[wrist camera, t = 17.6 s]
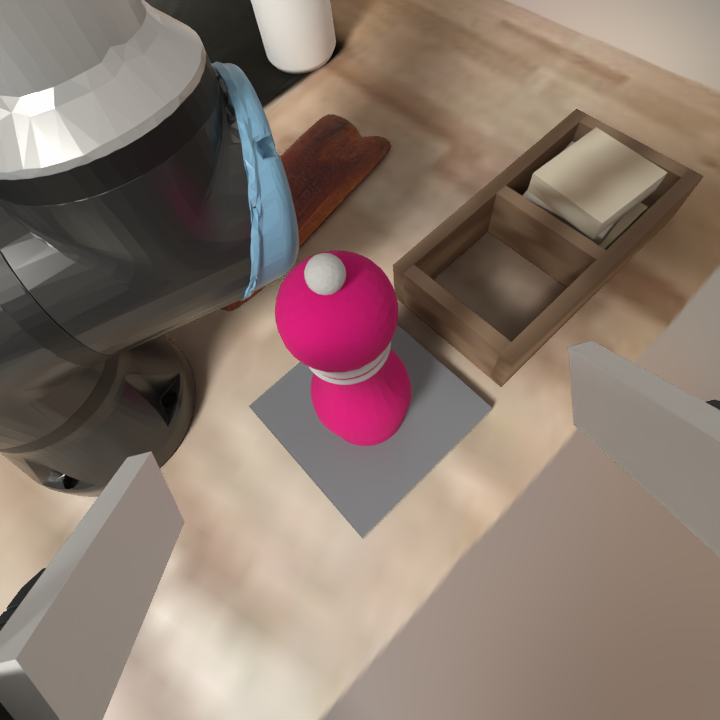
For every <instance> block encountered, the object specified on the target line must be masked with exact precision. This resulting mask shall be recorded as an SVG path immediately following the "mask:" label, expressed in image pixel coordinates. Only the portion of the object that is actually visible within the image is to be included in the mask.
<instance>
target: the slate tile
mask: <svg viewBox="0 0 720 720" xmlns="http://www.w3.org/2000/svg"><path fill="white" fill-rule="evenodd" d="M390 349H392V350H393V351H394V352H395V353H396V355H397V356H398V357H399V358H400V359H401V360H402V362H403V363H404V365H405V367H406V369H407V372H408V375H409V379H410V383H411V400H410V404H409V407H408V410H407V412H406V414H405V416H404V419H403V422H402V424H401V426H400V427H399V429H398V430H397V432H396V433H395V434H394V435H393V436H392V437H390V438H389V439H388V440H386V441H384V442H382V443H380V444H377V445H372V446H359V445H354V444H351V443H349V442H347V441H345V440H344V439H342V438H341V437H340V436H338V435H336V434H334V433H333V432H331V431H330V430H329V429H328V428H327V427H325V426H324V424H323V423H322V422H321V421H320V419H319V418H318V416H317V414H316V412H315V409H314V406H313V403H312V399H311V393H310V392H311V380H312V376H313V372H312V371H311V370H310V368H309V367H308V366H307V365H305V364H303V363H302V362H300V363H299V364H297V365H296V366H295V367H294V368H293V369H292V370H290V371H289V372H288V373H287V374H286V375H285V376H283V377H282V378H281V379H280V380H279V381H278V382H277V383H275V384H274V385H273V386H272V387H271V388H270V389H268V390H267V391H266V392H265V393H264V394H263V395H261V396H260V397H259V398H258V399H257V400H256V401H254V402H253V403H252V404H251V405H250V406H249V407H250V408H251V409H252V410H253V411H254V413H255V414H256V415H257V416H258V417H259V418H260V420H261V421H262V422H263V423H264V424H265V425H266V427H267V428H268V429H269V430H270V431H271V432H272V434H273V435H274V436H275V437H276V438H277V439H278V441H279V442H280V443H281V444H282V445H283V446H284V447H285V449H286V450H287V451H288V452H289V453H290V454H291V456H292V457H293V458H294V459H295V460H296V461H297V463H298V464H299V465H300V466H301V467H302V468H303V470H304V471H305V472H306V473H307V474H308V475H309V477H310V478H311V479H312V480H313V481H314V482H315V484H316V485H317V486H318V487H319V488H320V489H321V491H322V492H323V493H324V494H325V495H326V496H327V498H328V499H329V500H330V501H331V502H332V503H333V505H334V506H335V507H336V508H337V509H338V510H339V512H340V513H341V514H342V515H343V516H344V517H345V519H346V520H347V521H348V522H349V523H350V524H351V526H352V527H353V528H354V529H355V530H356V531H357V533H358V534H359V535H360V536H361V537H362V538H363V539H364V538H365V537H366V536H367V535H368V534H369V533H370V532H371V531H372V530H373V529H374V528H375V527H376V526H377V525H378V524H379V523H380V522H381V521H382V520H383V519H384V518H385V517H386V516H387V515H388V514H389V513H390V512H391V511H392V510H393V509H394V508H395V507H396V506H397V505H398V504H399V503H400V502H401V501H402V500H403V499H404V498H405V497H406V496H407V495H408V494H409V493H410V492H411V491H412V490H413V489H414V488H415V487H416V486H417V485H418V484H419V483H420V482H421V481H422V480H423V479H424V478H425V477H426V476H427V475H428V474H429V473H430V472H431V471H432V470H433V469H434V468H435V467H436V466H437V465H438V464H439V463H440V462H441V461H442V460H443V459H444V458H445V457H446V456H447V455H448V454H449V453H450V452H451V451H452V450H453V449H454V448H455V447H456V446H457V445H458V444H459V443H460V442H461V441H462V440H463V439H464V438H465V437H466V436H467V435H468V434H469V433H470V432H471V431H472V430H473V429H474V428H475V427H476V426H477V425H478V424H479V423H480V422H481V421H482V420H483V419H484V418H485V417H486V416H487V415H488V414H489V413H490V412H491V410H492V407H491V406H490V405H489V404H487V403H486V402H485V401H484V400H483V399H482V398H481V397H479V396H478V395H477V394H476V393H475V392H474V391H473V390H471V389H470V388H469V387H468V386H467V385H466V384H465V383H464V382H462V381H461V380H460V379H459V378H458V377H457V376H456V375H454V374H453V373H452V372H451V371H450V370H449V369H448V368H446V367H445V366H444V365H443V364H442V363H441V362H440V361H438V360H437V359H436V358H435V357H434V356H433V355H432V354H431V353H429V352H428V351H427V350H426V349H425V348H424V347H423V346H421V345H420V344H419V343H418V342H417V341H416V340H415V339H413V338H412V337H411V336H410V335H409V334H408V333H407V332H406V331H404V330H403V329H402V328H401V327H400V326H399V325H398V324H397V327H396V331H395V333H394V335H393V338H392V340H391V348H390Z"/></svg>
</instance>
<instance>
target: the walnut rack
mask: <svg viewBox="0 0 720 720" xmlns="http://www.w3.org/2000/svg"><path fill="white" fill-rule="evenodd" d="M596 127H597V128H598V129H600V130H602V131H603V132H605V133H606V134H608V135H609V136H611V137H613V138H614V139H616V140H617V141H619V142H620V143H622V144H624V145H625V146H627V147H628V148H630V149H631V150H633V151H635V152H636V153H638V154H639V155H641V156H642V157H644V158H646V159H647V160H649V161H650V162H652V163H653V164H655V165H657V166H658V167H660V168H661V169H663V170H665V171H666V172H668V173H667V174H666V176H665V177H664V179H663V180H662V182H661V183H660V185H659V186H658V188H657V189H656V191H655V192H653V193H652V194H651V195H649V196H648V197H647V198H646V199H644V200H643V201H642V202H641V203H642V204H644V205H646V206H647V207H648V208H647V209H646V211H645V212H644V214H643V215H642V216H641V217H640V218H639V219H638V220H637V221H636V222H635V223H634V224H633V225H632V226H631V227H630V228H629V229H628V230H627V231H626V232H624V233H623V234H622V235H621V236H620V237H619V238H618V239H617V240H616V241H615V242H614V243H613V244H612V245H611V246H610V247H609V248H608V249H607V250H605V249H604V248H602V247H601V246H599V245H597V244H596V243H594V242H593V241H591V240H590V239H588V238H587V237H585V236H584V235H582V234H580V233H579V232H577V231H576V230H574V229H573V228H571V227H570V226H568V225H566V224H565V223H563V222H562V221H560V220H559V219H557V218H556V217H554V216H553V215H551V214H549V213H548V212H546V211H545V210H543V209H542V208H540V207H539V206H537V205H535V204H534V203H532V202H531V201H529V200H528V199H526V198H525V197H523V195H524V193H525V192H526V191H527V190H528V187H529V184H530V181H531V178H532V175H533V173H534V172H535V171H537V170H538V169H539V168H541V167H542V166H543V165H545V164H546V163H548V162H549V161H550V160H552V159H553V158H554V157H556V156H557V155H559V154H560V153H561V152H563V150H564V149H565V148H566V147H567V146H568V145H569V144H570V143H571V142H577V141H578V140H579V139H581V138H582V137H583V136H585V135H586V134H588V133H589V132H590V131H592V130H593V129H595V128H596ZM702 178H703V176H702V175H700V174H698V173H696V172H695V171H693V170H691V169H689V168H687V167H685V166H683V165H681V164H680V163H678V162H676V161H674V160H672V159H670V158H668V157H666V156H664V155H663V154H661V153H659V152H657V151H655V150H653V149H651V148H649V147H648V146H646V145H644V144H642V143H640V142H638V141H636V140H634V139H632V138H631V137H629V136H627V135H625V134H623V133H621V132H619V131H617V130H616V129H614V128H612V127H610V126H608V125H606V124H604V123H602V122H600V121H599V120H597V119H595V118H593V117H591V116H589V115H587V114H585V113H584V112H582V111H580V110H578V109H576V110H575V111H573V112H572V113H571V114H570V115H569V116H568V117H566V118H565V119H564V120H563V121H562V122H561V123H559V124H558V125H557V126H556V127H555V128H554V129H552V130H551V131H550V132H549V133H548V134H546V135H545V136H544V137H543V138H542V139H541V140H539V141H538V142H537V143H536V144H535V145H534V146H532V147H531V148H530V149H529V150H528V151H526V152H525V153H524V154H523V155H522V156H521V157H519V158H518V159H517V160H516V161H515V162H514V163H512V164H511V165H510V166H509V167H508V168H507V169H505V170H504V171H503V172H502V173H501V174H499V175H498V176H497V177H496V178H495V179H494V180H492V181H491V182H490V183H489V184H488V185H487V186H485V187H484V188H483V189H482V190H481V191H479V192H478V193H477V194H476V195H475V196H474V197H472V198H471V199H470V200H469V201H468V202H467V203H465V204H464V205H463V206H462V207H461V208H460V209H458V210H457V211H456V212H455V213H454V214H452V215H451V216H450V217H449V218H448V219H447V220H445V221H444V222H443V223H442V224H441V225H440V226H438V227H437V228H436V229H435V230H434V231H433V232H431V233H430V234H429V235H428V236H427V237H425V238H424V239H423V240H422V241H421V242H420V243H418V244H417V245H416V246H415V247H414V248H413V249H411V250H410V251H409V252H408V253H407V254H405V255H404V256H403V257H402V258H401V259H400V260H398V261H397V262H396V263H395V264H394V265H393V271H394V286H395V294H396V298H397V299H398V300H399V301H401V302H402V303H403V304H404V305H405V306H406V307H408V308H409V309H410V310H411V311H412V312H413V313H415V314H416V315H417V316H418V317H419V318H421V319H422V320H423V321H424V322H425V323H426V324H428V325H429V326H430V327H431V328H432V329H433V330H435V331H436V332H437V333H438V334H439V335H441V336H442V337H443V338H444V339H445V340H446V341H448V342H449V343H450V344H451V345H452V346H453V347H455V348H456V349H457V350H458V351H459V352H460V353H462V354H463V355H464V356H465V357H466V358H468V359H469V360H470V361H471V362H472V363H473V364H475V365H476V366H477V367H478V368H479V369H480V370H482V371H483V372H484V373H485V374H486V375H488V376H489V377H490V378H491V379H492V380H493V381H495V382H496V383H497V384H498V385H499V386H500V387H502V386H503V385H504V384H505V383H506V382H507V381H508V380H509V379H510V378H511V377H512V376H513V375H514V374H515V373H516V372H517V371H518V370H519V369H520V368H521V367H522V366H523V365H524V364H525V363H526V362H527V361H528V360H529V359H530V358H531V357H532V356H533V355H534V354H535V353H536V352H537V351H538V350H539V349H540V348H541V347H542V346H543V345H544V344H545V343H546V342H547V341H548V340H549V339H550V338H551V337H552V336H553V335H554V334H555V333H556V332H557V331H558V330H559V329H560V328H561V327H562V326H563V325H564V324H565V323H566V322H567V321H568V320H569V319H570V318H571V317H572V316H573V315H574V314H575V313H576V312H577V311H578V310H579V309H580V308H581V307H582V306H583V305H584V304H585V303H586V302H587V301H588V300H589V299H590V298H591V297H592V296H593V295H594V294H595V293H596V292H597V291H598V290H599V289H600V288H601V287H603V286H604V285H605V284H606V283H607V282H608V281H609V280H610V279H611V278H612V277H613V276H614V275H615V274H616V273H617V272H618V271H619V270H620V269H621V268H622V267H623V266H624V265H625V264H626V263H627V262H628V261H629V260H630V259H631V258H632V257H633V256H634V255H635V254H636V253H637V252H638V251H639V250H640V249H641V248H642V247H643V246H644V245H645V244H646V243H647V242H648V241H649V240H650V239H651V238H652V237H653V236H654V235H655V234H656V233H657V232H658V231H659V230H660V229H661V228H662V227H663V226H664V225H665V224H666V223H667V222H668V221H669V220H670V219H671V218H672V217H673V216H674V214H675V213H676V212H677V210H678V209H679V208H680V206H681V205H682V204H683V203H684V201H685V200H686V199H687V197H688V196H689V195H690V193H691V192H692V191H693V189H694V188H695V187H696V186H697V184H698V183H699V182H700V180H701V179H702ZM486 232H489V233H491V234H492V235H493V236H495V237H496V238H498V239H499V240H500V241H502V242H503V243H505V244H506V245H508V246H509V247H510V248H512V249H513V250H515V251H516V252H517V253H519V254H520V255H522V256H523V257H525V258H526V259H527V260H529V261H530V262H532V263H533V264H535V265H536V266H537V267H539V268H540V269H542V270H543V271H544V272H546V273H547V274H549V275H550V276H552V277H553V278H554V279H556V280H557V281H559V282H560V283H562V284H563V285H564V286H566V287H567V289H566V290H565V291H564V292H563V293H561V294H560V295H559V296H558V297H557V298H556V299H555V300H554V301H553V302H552V303H551V304H550V305H549V306H548V307H547V308H546V309H545V310H544V311H543V312H542V313H541V314H540V315H539V316H538V317H537V318H536V319H535V320H534V321H533V322H532V323H530V324H529V325H528V326H527V327H526V328H525V329H524V330H523V331H522V332H521V333H520V334H519V335H518V336H517V337H516V338H515V339H514V340H513V341H512V342H511V341H509V340H508V339H507V338H506V337H504V336H503V335H502V334H501V333H499V332H498V331H497V330H496V329H494V328H493V327H492V326H491V325H489V324H488V323H487V322H486V321H484V320H483V319H482V318H481V317H479V316H478V315H477V314H475V313H474V312H473V311H472V310H470V309H469V308H468V307H467V306H465V305H464V304H463V303H462V302H460V301H459V300H458V299H457V298H455V297H454V296H453V295H452V294H450V293H449V292H448V291H447V290H445V289H444V288H443V287H442V286H440V285H439V284H438V283H437V282H435V281H434V280H433V279H434V278H435V277H437V276H438V275H439V274H440V273H441V272H442V271H443V270H445V269H446V268H447V267H448V266H449V265H450V264H451V263H452V262H454V261H455V260H456V259H457V258H458V257H459V256H460V255H462V254H463V253H464V252H465V251H466V250H467V249H468V248H469V247H471V246H472V245H473V244H474V243H475V242H476V241H477V240H479V239H480V238H481V237H482V236H483V235H484V234H485V233H486Z"/></svg>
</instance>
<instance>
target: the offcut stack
mask: <svg viewBox="0 0 720 720" xmlns="http://www.w3.org/2000/svg"><path fill="white" fill-rule="evenodd" d="M667 173H668V172H666V171H665V170H663V169H661V168H660V167H658V166H657V165H655V164H653V163H652V162H650V161H649V160H647V159H646V158H644V157H642V156H641V155H639V154H638V153H636V152H635V151H633V150H631V149H630V148H628V147H627V146H625V145H624V144H622V143H620V142H619V141H617V140H616V139H614V138H613V137H611V136H609V135H608V134H606V133H605V132H603V131H602V130H600V129H598V128H597V127H596V128H595V129H593V130H592V131H590V132H589V133H588V134H586V135H585V136H583V137H582V138H581V139H579V140H578V141H577V142H571V143H570V144H569V145H568V146H567V147H566V148H565V149H564V150H563V152H561V153H560V154H559V155H557V156H556V157H554V158H553V159H552V160H550V161H549V162H548V163H546V164H545V165H543V166H542V167H541V168H539V169H538V170H537V171H535V172H534V173H533V175H532V178H531V181H530V184H529V187H528V190H527V191H526V192H525V193H524V195H523V197H525V198H526V199H528V200H529V201H531V202H532V203H534V204H535V205H537V206H539V207H540V208H542V209H543V210H545V211H546V212H548V213H549V214H551V215H553V216H554V217H556V218H557V219H559V220H560V221H562V222H563V223H565V224H566V225H568V226H570V227H571V228H573V229H574V230H576V231H577V232H579V233H580V234H582V235H584V236H585V237H587V238H588V239H590V240H591V241H593V242H594V243H596V244H597V245H599V246H601V247H602V248H604V249H605V250H607V249H608V248H609V247H610V246H611V245H612V244H613V243H614V242H615V241H616V240H617V239H618V238H619V237H620V236H621V235H622V234H623V233H624V232H626V231H627V230H628V229H629V228H630V227H631V226H632V225H633V224H634V223H635V222H636V221H637V220H638V219H639V218H640V217H641V216H642V215H643V213H644V212H645V211H646V209H647V208H648V207H647V206H646V205H644V204H642V203H641V202H642V201H643V200H644V199H646V198H647V197H648V196H649V195H651V194H652V193H653V192H655V191H656V189H657V188H658V186H659V185H660V183H661V182H662V180H663V179H664V177H665V176H666V174H667Z"/></svg>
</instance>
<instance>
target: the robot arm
mask: <svg viewBox="0 0 720 720" xmlns="http://www.w3.org/2000/svg"><path fill="white" fill-rule="evenodd" d="M298 250H299V234H298V225H297V219H296V213H295V208H294V204H293V200H292V196H291V191H290V188H289V184H288V180H287V176H286V173H285V170H284V167H283V164H282V161H281V158H280V156H279V155H278V153H277V152H276V150H275V144H274V140H273V137H272V133H271V129H270V126H269V123H268V120H267V117H266V115H265V112H264V110H263V108H262V105H261V103H260V101H259V99H258V97H257V94H256V92H255V90H254V88H253V87H252V85H251V83H250V81H249V80H248V78H247V77H246V75H245V74H244V73H243V71H242V70H241V69H240V68H239V67H238V66H236V65H234V64H230V63H226V64H223V63H220V62H215V63H214V64H213V63H212V64H211V63H210V61H209V58H208V56H207V53H206V51H205V49H204V46H203V44H202V42H201V40H200V37H199V36H198V35H197V33H196V32H195V31H194V30H192V29H191V28H190V27H189V26H187V25H185V24H183V23H181V22H179V21H178V20H176V19H174V18H172V17H170V16H168V15H166V14H164V13H163V12H161V11H159V10H157V9H155V8H153V7H151V6H150V5H149V4H148V3H147V2H145V0H0V453H1V454H2V455H4V456H5V457H6V458H7V459H9V460H10V461H11V462H12V463H13V464H15V465H16V466H17V467H18V468H20V469H21V470H22V471H23V472H24V473H26V474H27V475H28V476H29V477H31V478H32V479H33V480H34V481H36V482H37V483H39V484H41V485H43V486H45V487H47V488H49V489H52V490H55V491H58V492H63V493H68V494H73V495H79V496H88V497H95V496H99V497H98V498H97V500H96V501H95V502H94V504H93V505H92V506H91V508H90V509H89V511H88V512H87V513H86V515H85V516H84V517H83V519H82V520H81V522H80V523H79V524H78V526H77V527H76V528H75V530H74V531H73V532H72V534H71V535H70V537H69V538H68V539H67V541H66V542H65V543H64V545H63V546H62V548H61V549H60V550H59V552H58V553H57V554H56V556H55V557H54V558H53V560H52V561H51V563H50V564H49V565H48V567H47V568H44V569H42V570H41V571H40V572H39V573H38V574H37V575H35V576H34V577H33V578H32V579H31V580H30V581H29V582H28V583H27V584H25V585H24V586H23V587H22V588H21V590H20V591H19V592H18V594H17V595H16V596H15V597H14V599H13V600H12V601H11V603H10V604H9V605H8V607H7V611H6V612H3V613H2V615H1V616H0V720H102V719H103V717H104V715H105V712H106V710H107V707H108V705H109V703H110V700H111V698H112V695H113V693H114V691H115V688H116V686H117V683H118V681H119V678H120V676H121V674H122V671H123V669H124V666H125V664H126V662H127V659H128V657H129V654H130V652H131V649H132V647H133V645H134V642H135V640H136V637H137V635H138V633H139V630H140V628H141V625H142V623H143V621H144V618H145V616H146V613H147V611H148V608H149V606H150V604H151V601H152V599H153V596H154V594H155V592H156V589H157V587H158V584H159V582H160V579H161V577H162V575H163V572H164V570H165V567H166V565H167V563H168V560H169V558H170V555H171V553H172V551H173V548H174V546H175V543H176V541H177V538H178V536H179V534H180V531H181V529H182V526H183V524H184V520H183V517H182V515H181V513H180V511H179V509H178V507H177V505H176V503H175V500H174V498H173V496H172V494H171V492H170V490H169V488H168V485H167V483H166V481H165V479H164V477H163V475H162V473H161V471H160V467H161V466H162V465H163V464H164V463H165V462H166V461H167V460H168V459H169V458H170V456H171V455H172V454H173V453H174V451H175V450H176V449H177V447H178V446H179V444H180V443H181V441H182V439H183V438H184V436H185V434H186V432H187V429H188V427H189V425H190V422H191V419H192V415H193V411H194V406H195V396H196V389H195V380H194V376H193V372H192V369H191V367H190V364H189V362H188V361H187V359H186V357H185V356H184V354H183V353H182V352H181V351H180V350H179V349H178V348H177V347H176V346H175V345H174V344H173V343H172V342H171V341H169V340H168V339H167V338H166V337H165V336H164V335H163V334H165V333H167V332H169V331H172V330H174V329H176V328H178V327H181V326H183V325H185V324H187V323H190V322H192V321H194V320H196V319H199V318H201V317H203V316H205V315H208V314H210V313H212V312H214V311H217V310H219V309H221V308H223V307H226V306H228V305H230V304H232V303H235V302H237V301H239V300H241V301H242V300H245V299H246V298H249V297H250V296H251V295H252V294H253V292H254V291H256V290H258V289H260V288H262V287H264V286H265V285H267V284H269V283H271V282H273V281H275V280H277V279H278V278H280V277H282V276H284V275H285V274H286V273H287V272H288V271H289V270H290V269H291V268H292V267H293V265H294V264H295V262H296V259H297V255H298ZM568 353H569V367H570V380H571V393H572V407H573V420H574V425H575V426H576V427H577V428H578V429H579V430H580V431H582V432H583V433H584V434H585V435H586V436H587V437H588V438H589V439H590V440H591V441H592V442H594V443H595V444H596V445H597V446H598V447H599V448H600V449H601V450H602V451H603V452H604V453H606V454H607V455H608V456H609V457H610V458H611V459H612V460H613V461H614V462H615V463H617V464H618V465H619V466H620V467H621V468H622V469H623V470H624V471H625V472H626V473H627V474H629V475H630V476H631V477H632V478H633V479H634V480H635V481H636V482H637V483H638V484H639V485H641V486H642V487H643V488H644V489H645V490H646V491H647V492H648V493H649V494H650V495H651V496H653V497H654V498H655V499H656V500H657V501H658V502H659V503H660V504H661V505H662V506H663V507H665V508H666V509H667V510H668V511H669V512H670V513H671V514H672V515H673V516H674V517H675V518H677V519H678V520H679V521H680V522H681V523H682V524H683V525H684V526H685V527H686V528H687V529H689V530H690V531H691V532H692V533H693V534H694V535H695V536H696V537H697V538H698V539H699V540H701V541H702V542H703V543H704V544H705V545H706V546H707V547H708V548H709V549H710V550H711V551H713V552H714V553H715V554H716V555H717V556H718V557H719V558H720V401H717V400H711V401H707V402H704V401H702V400H700V399H698V398H696V397H695V396H693V395H691V394H689V393H687V392H686V391H684V390H682V389H680V388H678V387H676V386H675V385H673V384H671V383H669V382H667V381H665V380H664V379H662V378H660V377H658V376H656V375H654V374H652V373H651V372H649V371H647V370H645V369H643V368H641V367H640V366H638V365H636V364H634V363H632V362H630V361H629V360H627V359H625V358H623V357H621V356H619V355H618V354H616V353H614V352H612V351H610V350H608V349H607V348H605V347H603V346H601V345H599V344H597V343H596V342H594V341H590V342H586V343H582V344H578V345H574V346H570V347H568Z"/></svg>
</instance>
